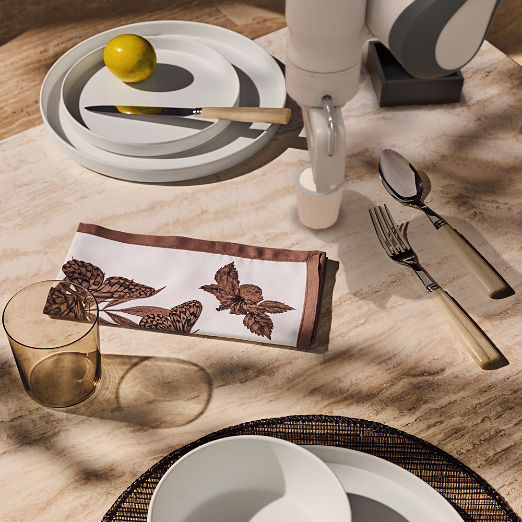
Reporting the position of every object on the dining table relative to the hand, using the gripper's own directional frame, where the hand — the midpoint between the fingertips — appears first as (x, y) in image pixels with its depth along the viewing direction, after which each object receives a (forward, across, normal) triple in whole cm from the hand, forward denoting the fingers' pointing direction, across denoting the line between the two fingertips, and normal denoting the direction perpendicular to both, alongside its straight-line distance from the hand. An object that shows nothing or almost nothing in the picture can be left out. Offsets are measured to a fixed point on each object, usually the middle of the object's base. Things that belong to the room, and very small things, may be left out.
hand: (318, 165), depth 91 cm
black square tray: (+9, +32, -20) cm, 39 cm away
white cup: (+9, 0, 0) cm, 9 cm away
